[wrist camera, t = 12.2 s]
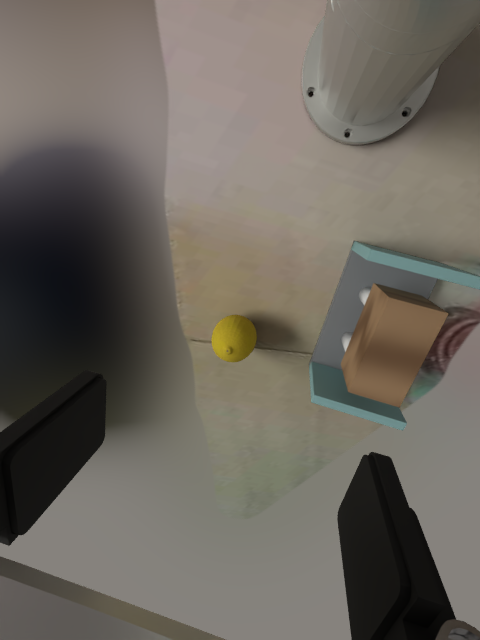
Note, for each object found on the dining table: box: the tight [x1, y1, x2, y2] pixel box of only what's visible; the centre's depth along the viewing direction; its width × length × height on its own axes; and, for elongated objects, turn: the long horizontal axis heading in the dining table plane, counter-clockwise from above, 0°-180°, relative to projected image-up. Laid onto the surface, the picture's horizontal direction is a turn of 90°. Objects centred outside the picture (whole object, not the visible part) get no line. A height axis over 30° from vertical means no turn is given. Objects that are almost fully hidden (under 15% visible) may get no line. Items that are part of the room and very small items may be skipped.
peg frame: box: [309, 241, 480, 430], centre depth 33 cm, size 17×10×9 cm, turn 166°
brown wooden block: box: [341, 283, 449, 407], centre depth 30 cm, size 10×5×6 cm, turn 166°
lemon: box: [212, 315, 257, 362], centre depth 38 cm, size 6×6×8 cm
